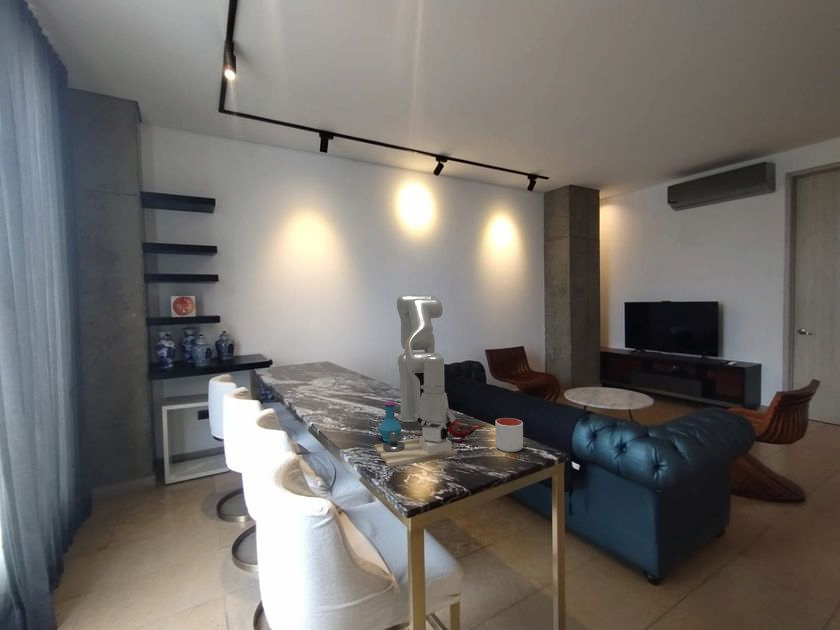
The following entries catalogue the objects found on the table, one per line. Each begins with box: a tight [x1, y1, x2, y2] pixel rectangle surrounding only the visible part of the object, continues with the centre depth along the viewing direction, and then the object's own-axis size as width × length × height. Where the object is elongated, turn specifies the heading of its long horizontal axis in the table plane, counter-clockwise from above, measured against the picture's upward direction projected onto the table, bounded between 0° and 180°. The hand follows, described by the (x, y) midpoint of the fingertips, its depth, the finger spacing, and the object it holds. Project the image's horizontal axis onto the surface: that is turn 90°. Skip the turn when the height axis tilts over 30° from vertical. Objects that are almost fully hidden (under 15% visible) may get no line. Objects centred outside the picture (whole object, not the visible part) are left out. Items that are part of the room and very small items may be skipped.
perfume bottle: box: [378, 400, 402, 443], centre depth 154 cm, size 9×9×15 cm
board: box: [373, 437, 458, 468], centre depth 140 cm, size 18×26×2 cm
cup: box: [495, 417, 524, 453], centre depth 143 cm, size 10×10×10 cm
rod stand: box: [383, 431, 405, 452], centre depth 140 cm, size 8×8×6 cm
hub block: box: [418, 436, 452, 454], centre depth 140 cm, size 9×9×7 cm
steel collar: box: [421, 421, 443, 442], centre depth 140 cm, size 7×7×4 cm
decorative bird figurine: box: [447, 417, 487, 443], centre depth 150 cm, size 3×18×10 cm, turn 95°
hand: (434, 436), depth 140 cm, fingers closed on steel collar, 7 cm apart
